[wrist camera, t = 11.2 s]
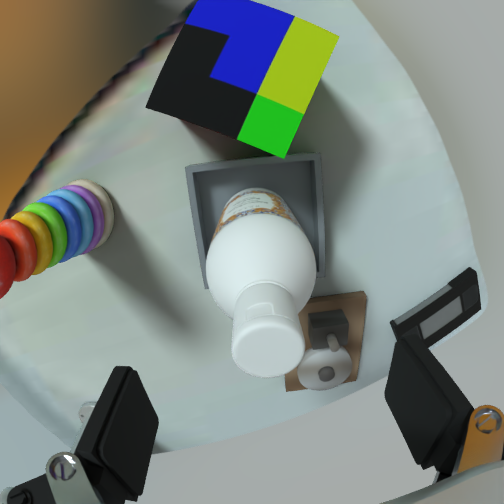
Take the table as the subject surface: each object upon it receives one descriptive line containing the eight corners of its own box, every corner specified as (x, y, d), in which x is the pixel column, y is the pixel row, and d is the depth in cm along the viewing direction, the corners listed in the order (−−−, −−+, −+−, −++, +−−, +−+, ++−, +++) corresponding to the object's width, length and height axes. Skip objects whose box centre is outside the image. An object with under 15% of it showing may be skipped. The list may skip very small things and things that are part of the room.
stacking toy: (121, 185, 29) (-3, 243, 11) (113, 253, 31) (15, 354, 14) (63, 172, 28) (-65, 216, 10) (58, 237, 31) (-48, 314, 13)
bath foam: (281, 178, 28) (345, 249, 10) (297, 244, 31) (359, 387, 12) (212, 196, 29) (151, 298, 10) (232, 260, 31) (214, 418, 13)
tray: (319, 265, 32) (325, 276, 30) (208, 277, 33) (205, 289, 30) (313, 152, 28) (320, 153, 25) (190, 164, 28) (184, 167, 26)
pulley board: (354, 375, 38) (366, 405, 33) (285, 385, 39) (290, 418, 33) (363, 290, 34) (382, 318, 28) (280, 301, 34) (286, 333, 28)
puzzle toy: (218, 33, 24) (205, -12, 14) (311, 68, 25) (339, 36, 16) (178, 118, 27) (145, 107, 17) (271, 154, 28) (283, 159, 19)
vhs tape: (388, 319, 36) (393, 328, 34) (468, 265, 33) (476, 270, 31) (401, 353, 38) (406, 361, 36) (474, 302, 36) (481, 308, 34)
